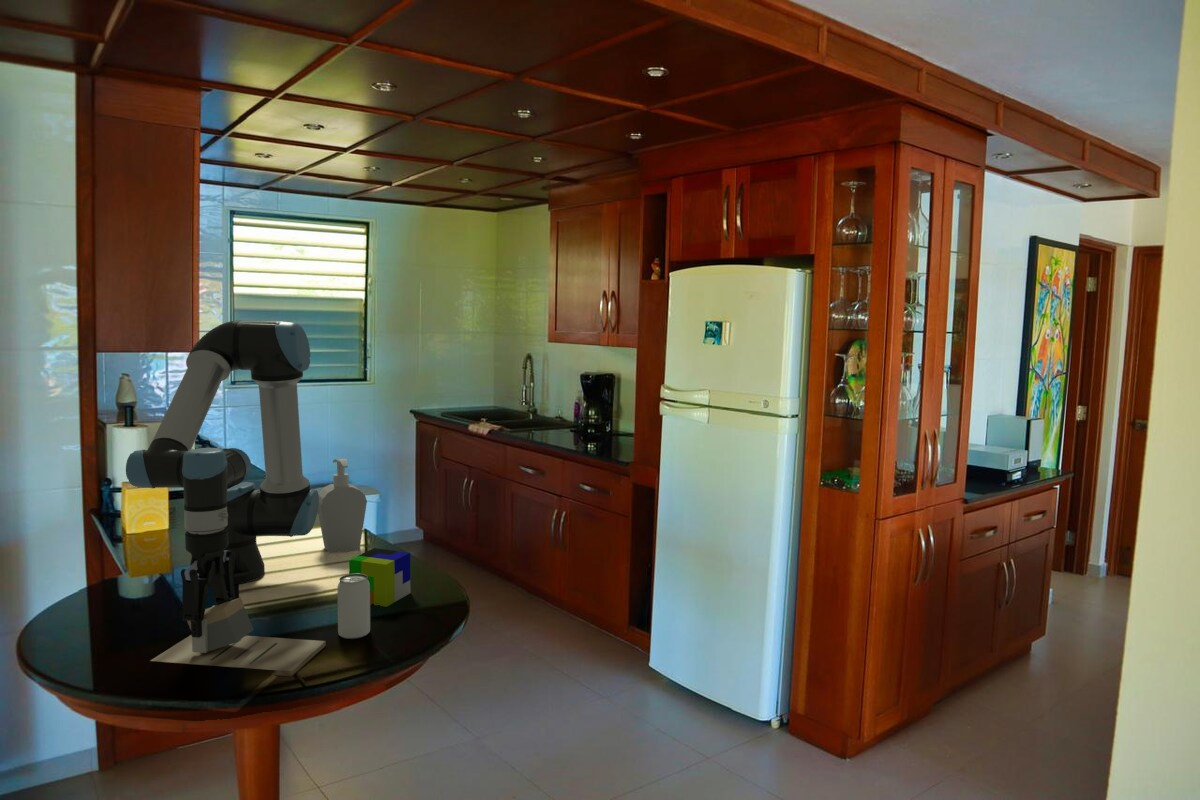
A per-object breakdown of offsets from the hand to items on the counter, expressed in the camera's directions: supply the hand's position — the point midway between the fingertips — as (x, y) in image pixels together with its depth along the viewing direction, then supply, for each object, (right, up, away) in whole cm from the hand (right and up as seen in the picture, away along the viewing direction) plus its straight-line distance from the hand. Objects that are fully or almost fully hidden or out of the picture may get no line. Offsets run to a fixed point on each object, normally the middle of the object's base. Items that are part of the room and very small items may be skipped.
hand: (210, 644), depth 159 cm
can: (+25, -1, +11) cm, 27 cm away
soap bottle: (+3, +5, +71) cm, 71 cm away
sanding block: (+4, +1, 0) cm, 4 cm away
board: (+6, -2, -1) cm, 7 cm away
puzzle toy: (+24, +1, +33) cm, 41 cm away
